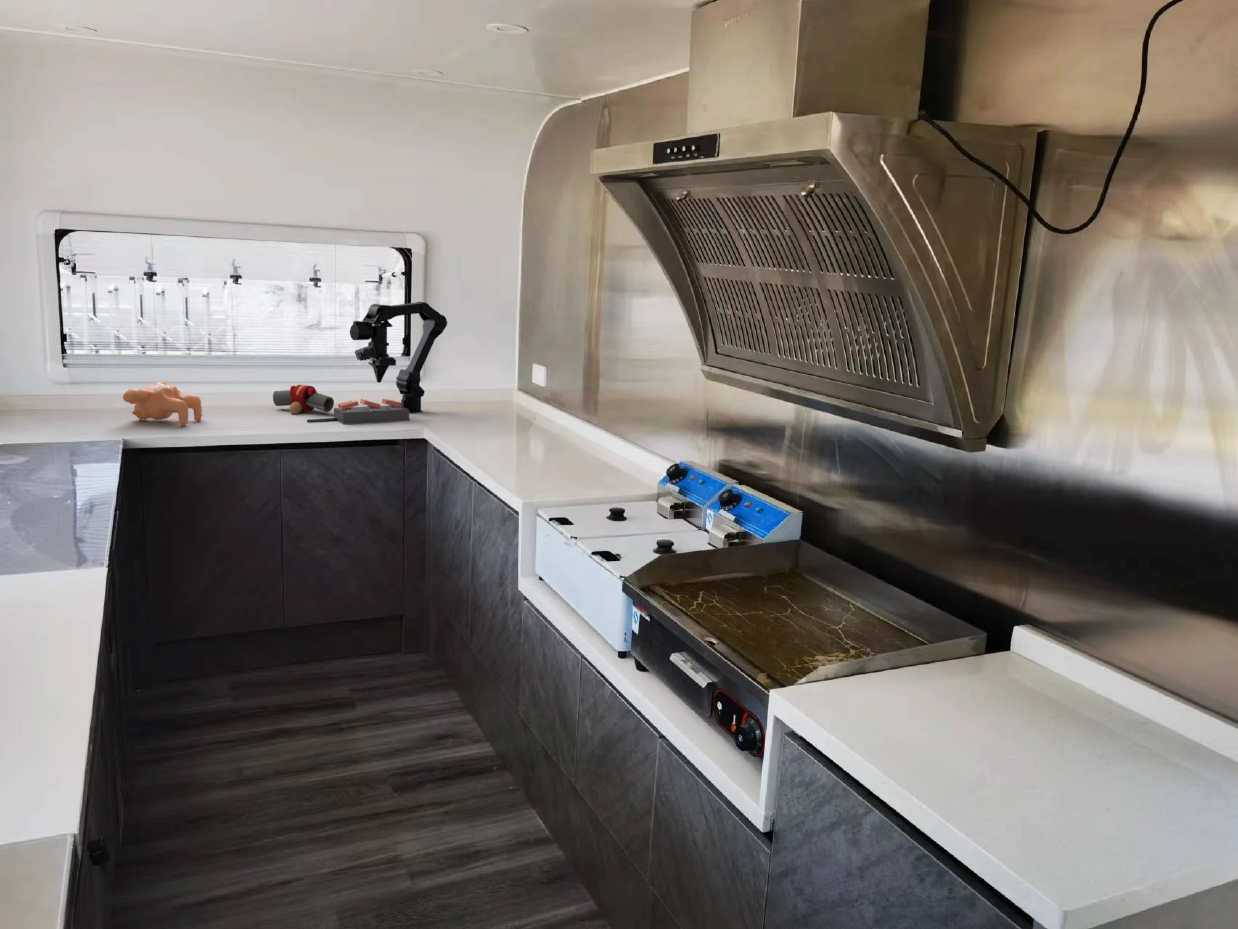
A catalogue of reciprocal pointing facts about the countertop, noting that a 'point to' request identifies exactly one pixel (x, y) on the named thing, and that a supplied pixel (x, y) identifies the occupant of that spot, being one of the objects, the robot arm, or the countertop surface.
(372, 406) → the plate
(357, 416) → the power strip
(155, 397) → the figurine
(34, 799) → the countertop surface
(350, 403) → the rocker
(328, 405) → the toy
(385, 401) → the red rectangular block
